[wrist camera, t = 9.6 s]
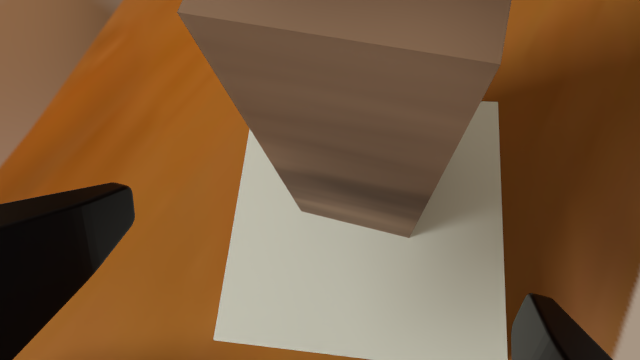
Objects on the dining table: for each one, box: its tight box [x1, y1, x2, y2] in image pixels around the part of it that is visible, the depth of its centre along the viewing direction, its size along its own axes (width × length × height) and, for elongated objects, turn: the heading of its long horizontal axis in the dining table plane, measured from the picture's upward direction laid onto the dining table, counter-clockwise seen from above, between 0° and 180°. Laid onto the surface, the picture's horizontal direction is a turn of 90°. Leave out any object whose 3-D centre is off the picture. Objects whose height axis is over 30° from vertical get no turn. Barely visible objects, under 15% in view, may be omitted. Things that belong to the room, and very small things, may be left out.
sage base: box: [214, 101, 508, 360], centre depth 20 cm, size 12×12×3 cm
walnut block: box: [177, 0, 511, 238], centre depth 13 cm, size 5×5×13 cm
